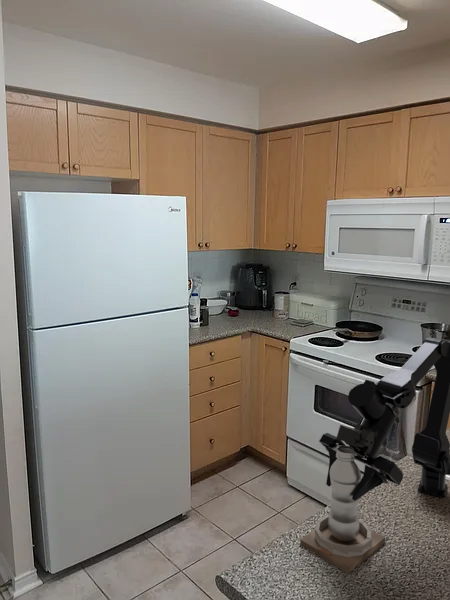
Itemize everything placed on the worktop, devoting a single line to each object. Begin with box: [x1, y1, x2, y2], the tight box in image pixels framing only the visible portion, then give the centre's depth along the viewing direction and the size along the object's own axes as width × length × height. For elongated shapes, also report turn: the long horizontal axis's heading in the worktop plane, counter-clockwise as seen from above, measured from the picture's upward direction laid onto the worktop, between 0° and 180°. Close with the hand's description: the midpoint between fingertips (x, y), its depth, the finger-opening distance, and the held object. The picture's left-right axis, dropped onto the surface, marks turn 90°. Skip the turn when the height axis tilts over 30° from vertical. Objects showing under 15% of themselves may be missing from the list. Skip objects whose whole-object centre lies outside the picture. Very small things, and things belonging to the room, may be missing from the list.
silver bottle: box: [328, 445, 362, 542], centre depth 102 cm, size 6×7×20 cm
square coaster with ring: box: [299, 514, 386, 574], centre depth 103 cm, size 14×12×3 cm
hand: (340, 492), depth 101 cm, fingers open, 7 cm apart
